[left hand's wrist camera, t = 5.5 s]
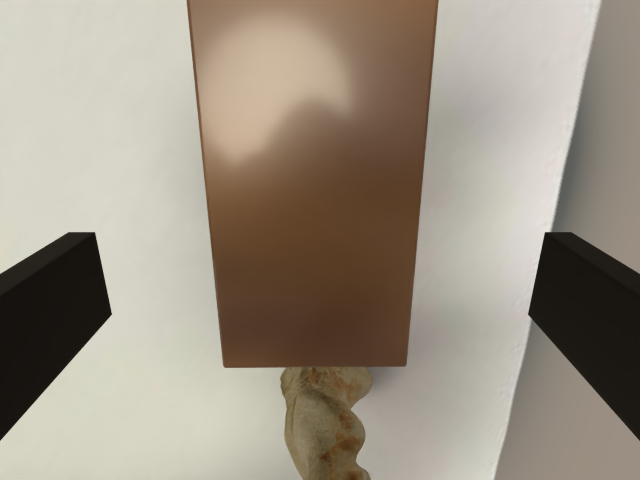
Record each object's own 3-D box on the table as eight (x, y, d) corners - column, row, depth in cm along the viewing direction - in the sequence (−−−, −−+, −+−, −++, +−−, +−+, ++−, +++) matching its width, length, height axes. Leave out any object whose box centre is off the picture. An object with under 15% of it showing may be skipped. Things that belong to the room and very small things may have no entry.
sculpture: (336, 405, 37) (346, 600, 23) (272, 362, 36) (243, 543, 22) (380, 364, 36) (420, 546, 22) (316, 317, 34) (315, 481, 20)
